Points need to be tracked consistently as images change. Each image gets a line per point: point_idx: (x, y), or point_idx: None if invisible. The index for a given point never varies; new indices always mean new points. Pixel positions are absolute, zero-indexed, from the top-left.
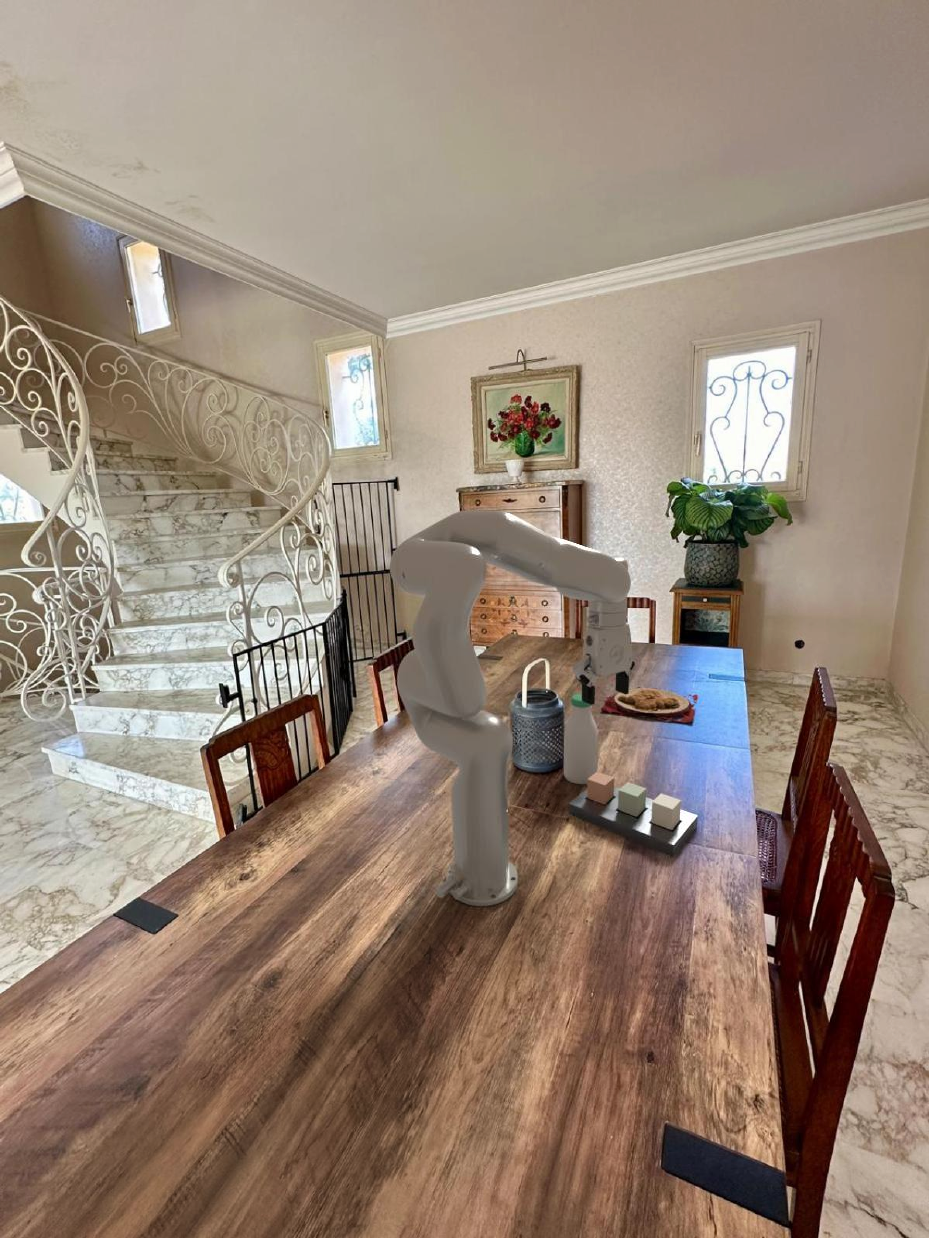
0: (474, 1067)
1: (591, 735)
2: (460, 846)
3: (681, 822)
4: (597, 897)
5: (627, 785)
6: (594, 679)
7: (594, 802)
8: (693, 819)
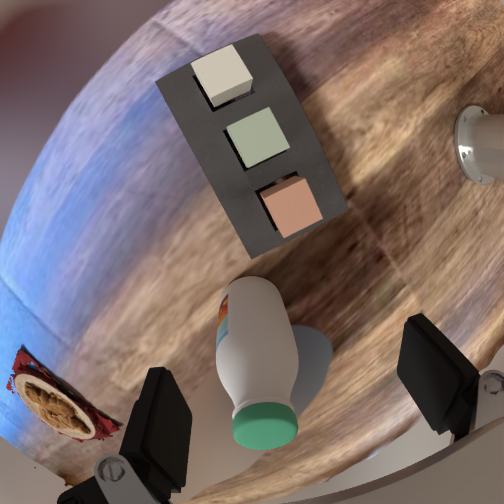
0: (495, 26)
1: (254, 333)
2: None
3: None
4: (395, 46)
5: (258, 154)
6: (484, 414)
7: None
8: (171, 73)
